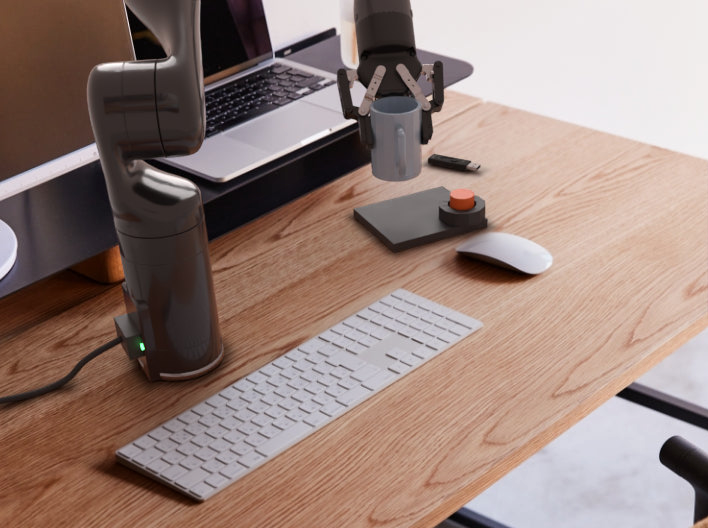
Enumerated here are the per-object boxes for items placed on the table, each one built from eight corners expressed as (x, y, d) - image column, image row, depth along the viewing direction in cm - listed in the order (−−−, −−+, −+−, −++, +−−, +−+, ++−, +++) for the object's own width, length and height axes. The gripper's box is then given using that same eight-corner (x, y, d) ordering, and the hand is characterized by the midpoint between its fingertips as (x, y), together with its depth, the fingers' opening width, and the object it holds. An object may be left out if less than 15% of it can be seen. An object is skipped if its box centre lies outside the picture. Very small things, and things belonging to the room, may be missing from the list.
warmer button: (457, 213, 140) (457, 201, 139) (445, 204, 142) (445, 192, 141) (478, 207, 141) (479, 195, 140) (466, 198, 143) (466, 186, 142)
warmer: (396, 254, 137) (395, 233, 135) (353, 216, 146) (352, 196, 144) (493, 227, 142) (494, 206, 140) (445, 192, 151) (446, 172, 149)
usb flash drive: (481, 168, 157) (481, 161, 156) (475, 173, 155) (475, 166, 155) (433, 158, 160) (433, 152, 160) (427, 163, 159) (427, 157, 158)
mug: (369, 163, 143) (367, 97, 137) (417, 159, 143) (417, 93, 138) (377, 193, 135) (375, 125, 130) (428, 189, 136) (428, 121, 130)
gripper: (435, 33, 143) (449, 151, 140) (328, 41, 142) (340, 160, 140) (442, 4, 136) (457, 128, 133) (329, 13, 135) (342, 137, 132)
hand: (397, 144), depth 136 cm, fingers closed on mug, 6 cm apart
